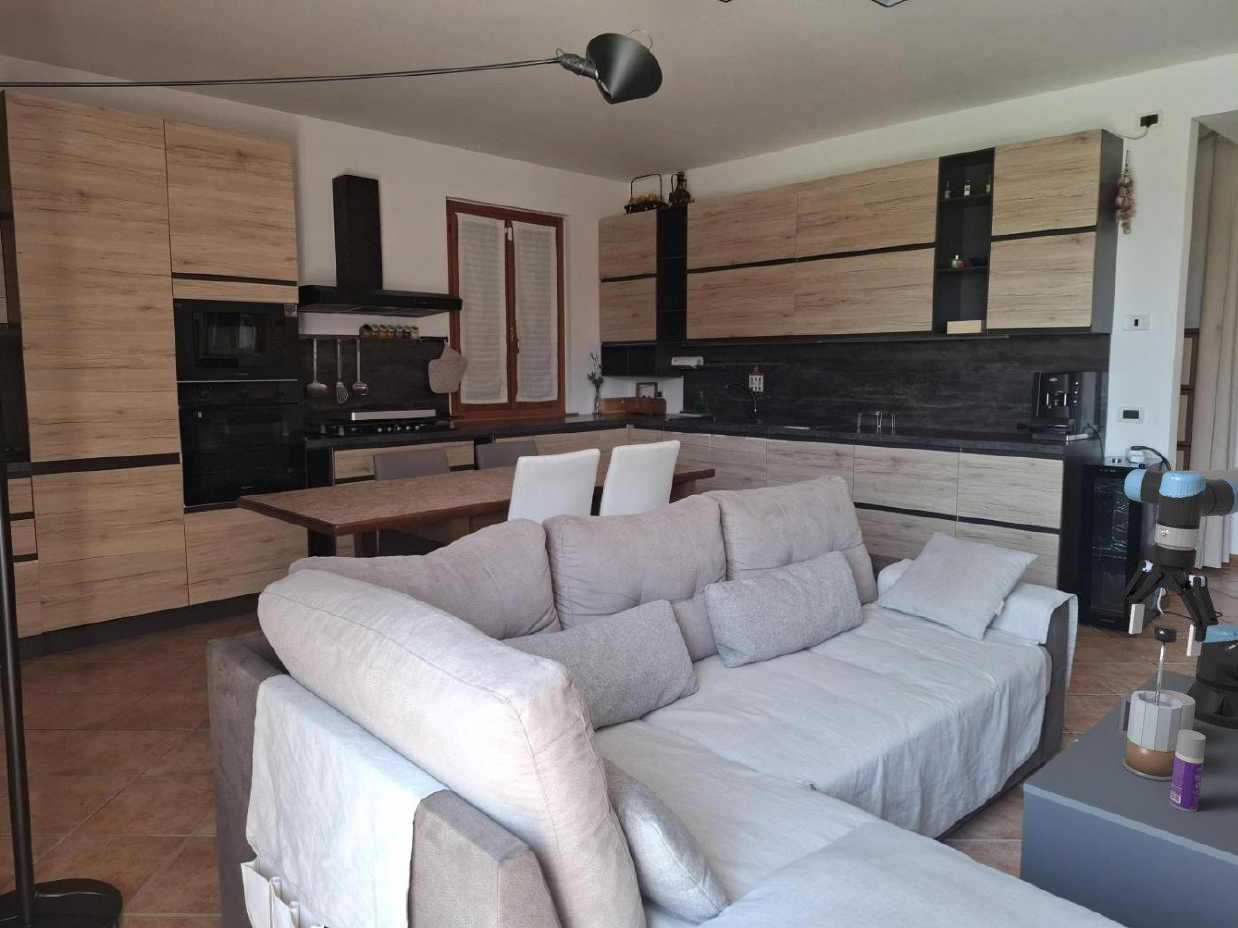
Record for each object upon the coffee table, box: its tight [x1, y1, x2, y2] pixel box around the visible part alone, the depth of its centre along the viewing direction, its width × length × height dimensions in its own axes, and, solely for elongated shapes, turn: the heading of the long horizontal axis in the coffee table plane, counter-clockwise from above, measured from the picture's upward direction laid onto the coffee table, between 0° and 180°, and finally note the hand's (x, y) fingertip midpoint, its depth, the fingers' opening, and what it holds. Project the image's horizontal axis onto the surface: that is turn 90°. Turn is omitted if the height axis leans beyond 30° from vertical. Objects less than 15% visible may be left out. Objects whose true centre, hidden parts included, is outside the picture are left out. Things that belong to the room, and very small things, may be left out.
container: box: [1169, 729, 1207, 813], centre depth 165 cm, size 5×5×15 cm
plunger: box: [1142, 624, 1178, 707], centre depth 177 cm, size 6×6×18 cm
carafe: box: [1118, 690, 1183, 783], centre depth 180 cm, size 10×12×16 cm
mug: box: [1152, 689, 1196, 731], centre depth 194 cm, size 12×8×11 cm
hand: (1163, 643), depth 176 cm, fingers open, 13 cm apart
